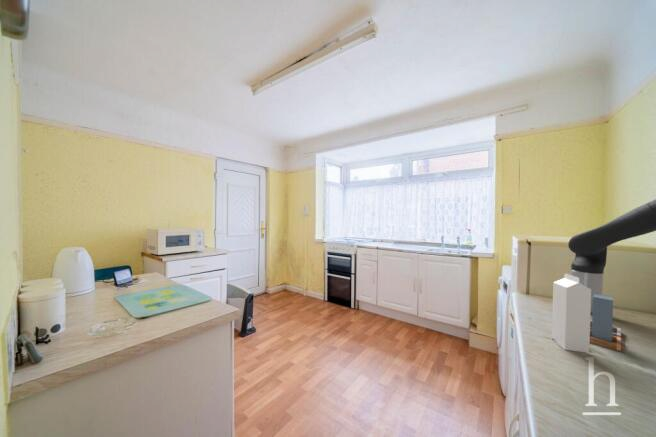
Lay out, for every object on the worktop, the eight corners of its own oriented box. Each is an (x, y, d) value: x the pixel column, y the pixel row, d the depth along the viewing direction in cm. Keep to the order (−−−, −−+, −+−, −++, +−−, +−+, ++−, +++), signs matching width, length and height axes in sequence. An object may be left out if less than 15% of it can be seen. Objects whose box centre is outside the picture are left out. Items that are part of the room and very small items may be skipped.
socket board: (584, 325, 87) (584, 319, 86) (623, 336, 80) (624, 328, 79) (578, 343, 75) (579, 335, 75) (624, 356, 68) (624, 348, 68)
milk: (564, 350, 71) (566, 277, 70) (551, 339, 77) (552, 272, 76) (590, 353, 69) (592, 278, 69) (574, 342, 75) (575, 273, 75)
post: (592, 336, 77) (593, 294, 76) (611, 342, 74) (613, 297, 73) (591, 340, 74) (593, 296, 74) (611, 346, 71) (613, 300, 71)
